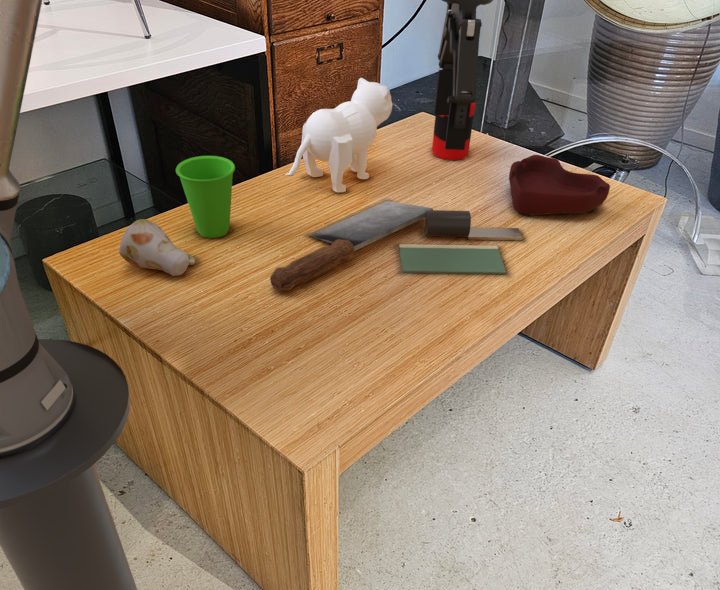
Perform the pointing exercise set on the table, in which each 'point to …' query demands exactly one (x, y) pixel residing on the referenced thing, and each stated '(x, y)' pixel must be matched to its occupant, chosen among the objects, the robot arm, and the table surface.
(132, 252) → the pale spotted pear
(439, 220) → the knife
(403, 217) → the meat cleaver
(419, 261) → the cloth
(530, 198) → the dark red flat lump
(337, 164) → the cat figurine
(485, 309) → the table surface
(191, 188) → the cup
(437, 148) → the soda can
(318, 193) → the table surface
